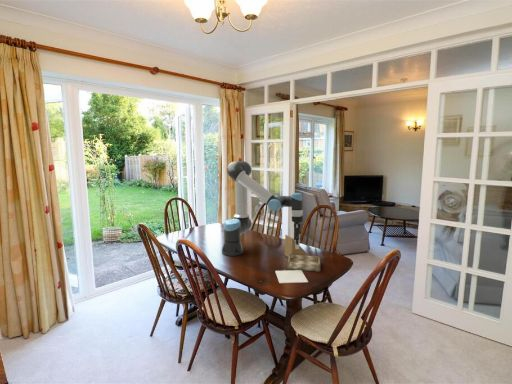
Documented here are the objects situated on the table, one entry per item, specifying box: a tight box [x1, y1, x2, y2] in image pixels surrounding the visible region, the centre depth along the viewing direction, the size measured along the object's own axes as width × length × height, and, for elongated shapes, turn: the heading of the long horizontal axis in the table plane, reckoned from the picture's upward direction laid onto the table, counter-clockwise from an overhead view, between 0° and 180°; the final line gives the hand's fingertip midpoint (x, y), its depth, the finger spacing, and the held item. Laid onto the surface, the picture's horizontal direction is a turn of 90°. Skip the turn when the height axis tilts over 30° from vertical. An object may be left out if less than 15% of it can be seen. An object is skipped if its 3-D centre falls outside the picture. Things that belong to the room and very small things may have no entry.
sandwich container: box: [284, 234, 310, 259], centre depth 202 cm, size 9×15×15 cm, turn 119°
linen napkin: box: [274, 269, 309, 284], centre depth 170 cm, size 16×16×1 cm
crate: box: [286, 254, 321, 272], centre depth 186 cm, size 20×15×5 cm
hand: (297, 246), depth 202 cm, fingers open, 13 cm apart
